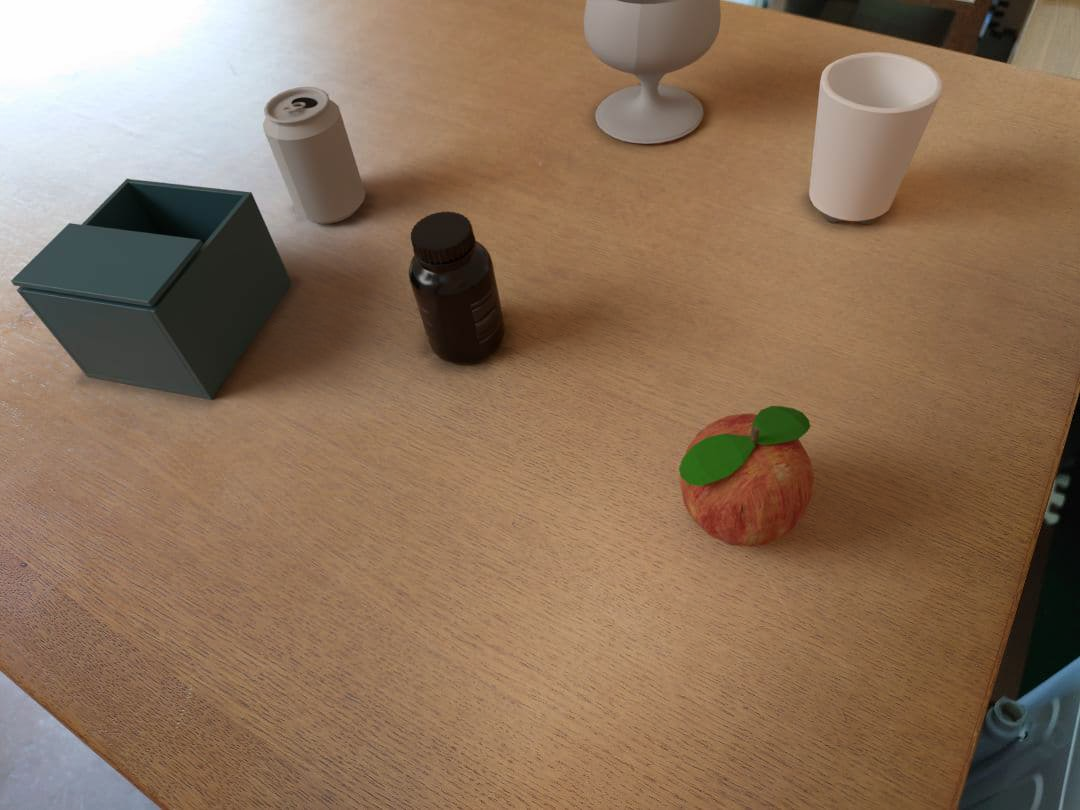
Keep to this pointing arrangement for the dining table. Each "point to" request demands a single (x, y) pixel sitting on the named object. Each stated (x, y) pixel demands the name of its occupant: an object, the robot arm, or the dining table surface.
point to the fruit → (749, 476)
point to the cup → (868, 132)
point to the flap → (108, 264)
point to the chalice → (650, 62)
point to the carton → (175, 293)
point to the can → (313, 154)
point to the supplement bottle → (455, 289)
